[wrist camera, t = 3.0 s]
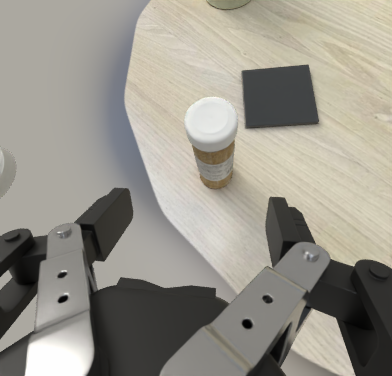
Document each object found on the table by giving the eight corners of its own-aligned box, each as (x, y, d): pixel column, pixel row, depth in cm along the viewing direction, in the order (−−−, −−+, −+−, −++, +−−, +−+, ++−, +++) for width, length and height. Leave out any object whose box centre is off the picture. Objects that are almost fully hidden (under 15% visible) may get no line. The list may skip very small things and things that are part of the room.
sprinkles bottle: (212, 153, 32) (204, 85, 20) (239, 170, 31) (249, 109, 19) (193, 178, 32) (172, 124, 19) (220, 196, 30) (217, 152, 18)
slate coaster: (245, 128, 33) (245, 126, 32) (241, 73, 36) (241, 70, 35) (317, 124, 32) (319, 121, 31) (307, 67, 35) (308, 64, 34)
